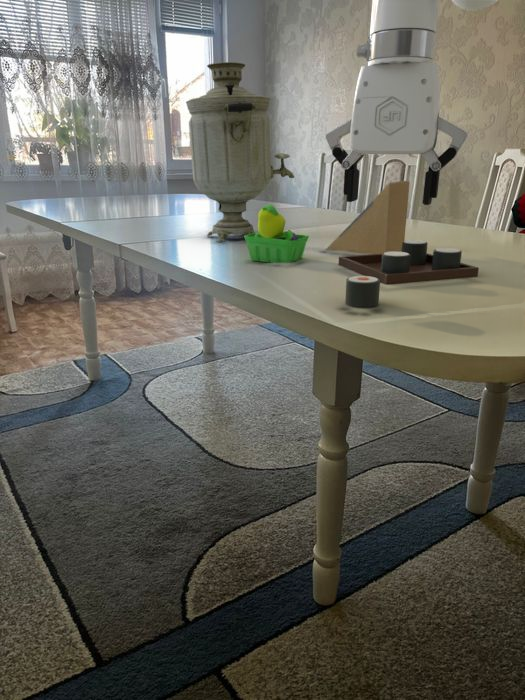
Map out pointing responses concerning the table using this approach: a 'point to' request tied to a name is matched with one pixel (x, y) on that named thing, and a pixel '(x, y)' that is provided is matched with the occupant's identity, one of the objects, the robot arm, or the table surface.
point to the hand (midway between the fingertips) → (388, 202)
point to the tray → (372, 268)
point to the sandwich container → (378, 223)
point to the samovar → (231, 147)
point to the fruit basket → (274, 239)
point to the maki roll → (362, 291)
